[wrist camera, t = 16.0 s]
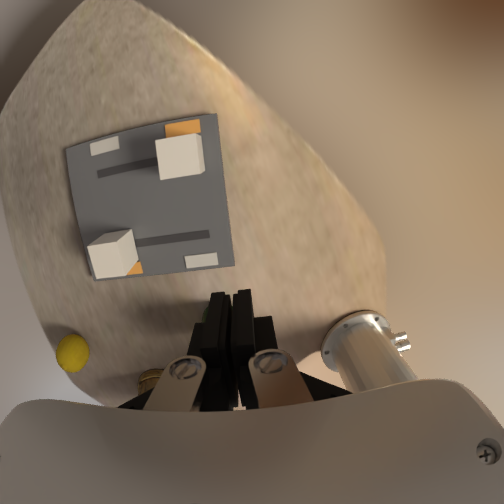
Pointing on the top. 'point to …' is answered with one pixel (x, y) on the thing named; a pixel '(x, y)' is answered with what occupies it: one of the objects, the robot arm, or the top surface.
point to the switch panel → (154, 198)
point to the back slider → (113, 254)
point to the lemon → (72, 353)
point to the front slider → (180, 156)
